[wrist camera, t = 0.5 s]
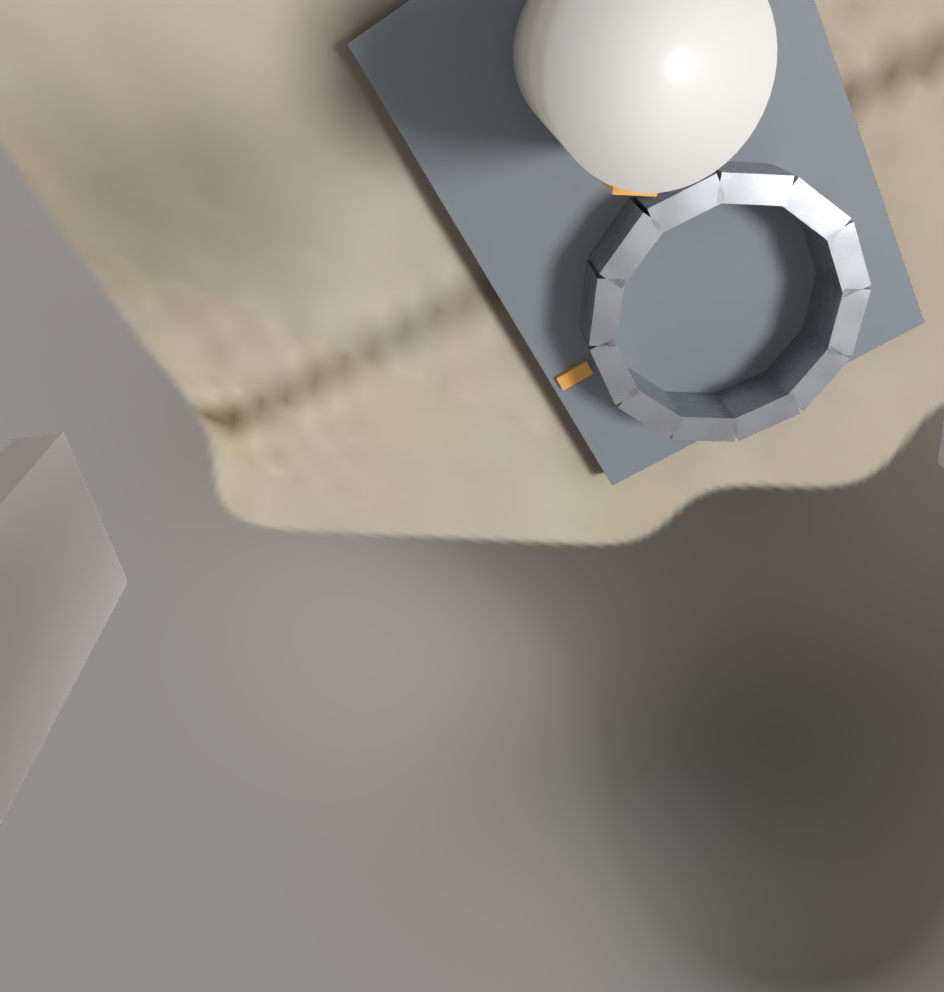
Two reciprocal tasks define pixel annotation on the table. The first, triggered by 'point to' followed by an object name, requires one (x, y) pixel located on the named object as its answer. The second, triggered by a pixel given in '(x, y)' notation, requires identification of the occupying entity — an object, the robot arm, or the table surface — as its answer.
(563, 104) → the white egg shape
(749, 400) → the duct collar
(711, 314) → the board
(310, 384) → the table surface
